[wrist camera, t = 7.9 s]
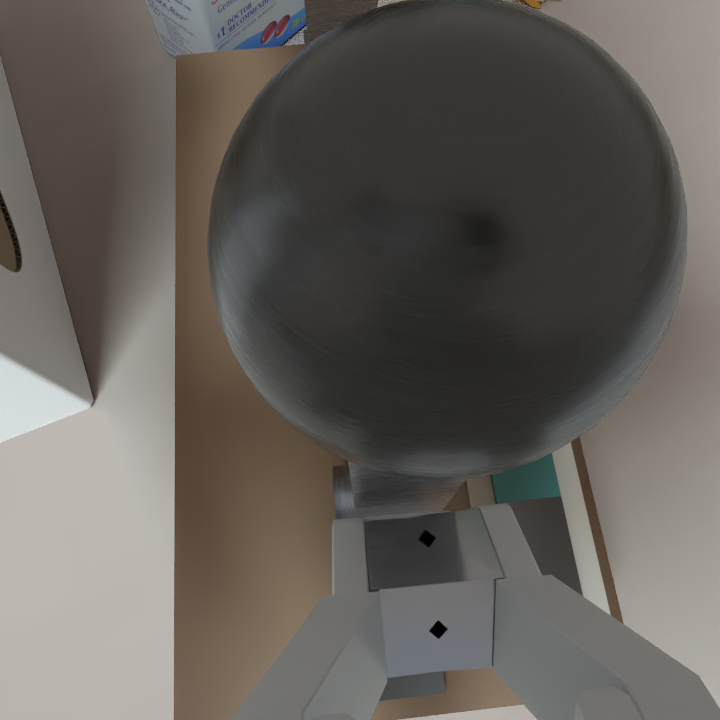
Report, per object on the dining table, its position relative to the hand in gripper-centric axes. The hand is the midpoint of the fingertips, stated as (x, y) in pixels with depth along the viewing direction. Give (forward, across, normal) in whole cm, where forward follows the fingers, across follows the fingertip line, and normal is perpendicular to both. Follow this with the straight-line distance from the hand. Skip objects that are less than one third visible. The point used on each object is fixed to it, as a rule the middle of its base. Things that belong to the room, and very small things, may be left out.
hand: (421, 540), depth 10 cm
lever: (+5, 0, +4) cm, 7 cm away
